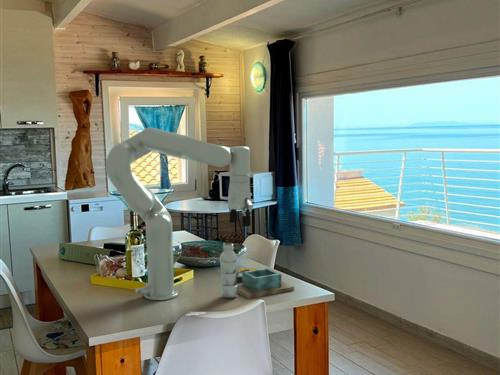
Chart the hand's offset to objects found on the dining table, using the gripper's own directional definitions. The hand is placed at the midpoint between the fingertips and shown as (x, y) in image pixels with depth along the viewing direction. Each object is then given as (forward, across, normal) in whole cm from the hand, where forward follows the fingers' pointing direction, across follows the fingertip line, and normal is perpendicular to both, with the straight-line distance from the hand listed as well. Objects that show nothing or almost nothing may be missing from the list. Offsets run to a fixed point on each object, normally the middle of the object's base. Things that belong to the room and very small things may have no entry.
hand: (239, 224), depth 208 cm
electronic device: (+26, -14, +11) cm, 32 cm away
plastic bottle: (+26, +5, -7) cm, 28 cm away
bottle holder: (+26, +3, +8) cm, 27 cm away
